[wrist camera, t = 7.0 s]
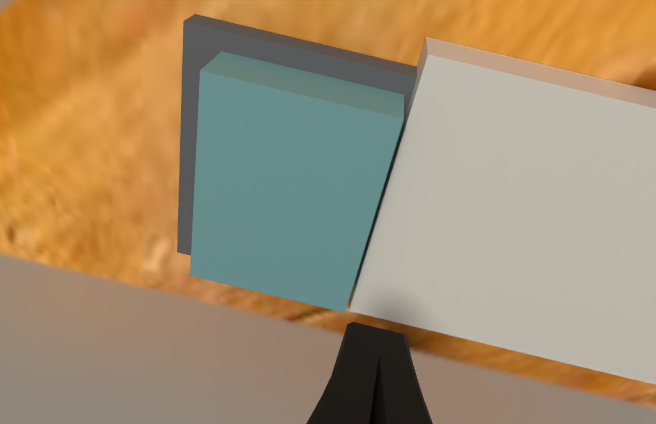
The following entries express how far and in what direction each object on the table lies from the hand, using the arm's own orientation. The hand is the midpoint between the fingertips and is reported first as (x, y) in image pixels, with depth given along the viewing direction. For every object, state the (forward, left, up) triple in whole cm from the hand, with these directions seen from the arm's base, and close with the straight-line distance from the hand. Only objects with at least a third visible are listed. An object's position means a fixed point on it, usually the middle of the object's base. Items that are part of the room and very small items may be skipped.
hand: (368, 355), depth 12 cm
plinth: (-7, 0, -8) cm, 11 cm away
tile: (+3, 0, -7) cm, 8 cm away
